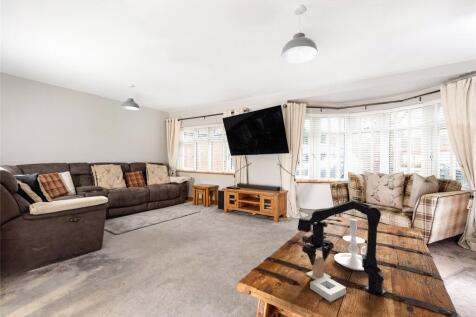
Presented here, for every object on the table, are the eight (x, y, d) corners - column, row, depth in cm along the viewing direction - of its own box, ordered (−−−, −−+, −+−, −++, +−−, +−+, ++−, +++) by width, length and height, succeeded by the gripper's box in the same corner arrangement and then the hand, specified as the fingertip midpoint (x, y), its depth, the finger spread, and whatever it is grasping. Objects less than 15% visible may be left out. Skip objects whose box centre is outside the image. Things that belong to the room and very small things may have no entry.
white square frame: (325, 281, 106) (325, 275, 106) (345, 293, 96) (345, 287, 96) (310, 288, 100) (310, 282, 100) (330, 301, 91) (330, 294, 91)
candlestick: (384, 266, 122) (384, 218, 122) (363, 279, 108) (363, 225, 108) (348, 253, 139) (348, 211, 139) (327, 263, 125) (327, 216, 125)
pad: (316, 269, 117) (316, 269, 117) (331, 277, 109) (331, 276, 109) (305, 274, 113) (305, 273, 113) (319, 282, 105) (319, 281, 105)
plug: (317, 272, 114) (317, 255, 114) (323, 275, 110) (323, 258, 110) (312, 274, 112) (312, 257, 112) (318, 277, 108) (318, 260, 108)
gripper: (317, 226, 123) (317, 253, 123) (294, 232, 114) (294, 261, 113) (334, 232, 113) (334, 261, 113) (310, 238, 104) (310, 270, 104)
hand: (318, 263), depth 111 cm, fingers open, 9 cm apart
